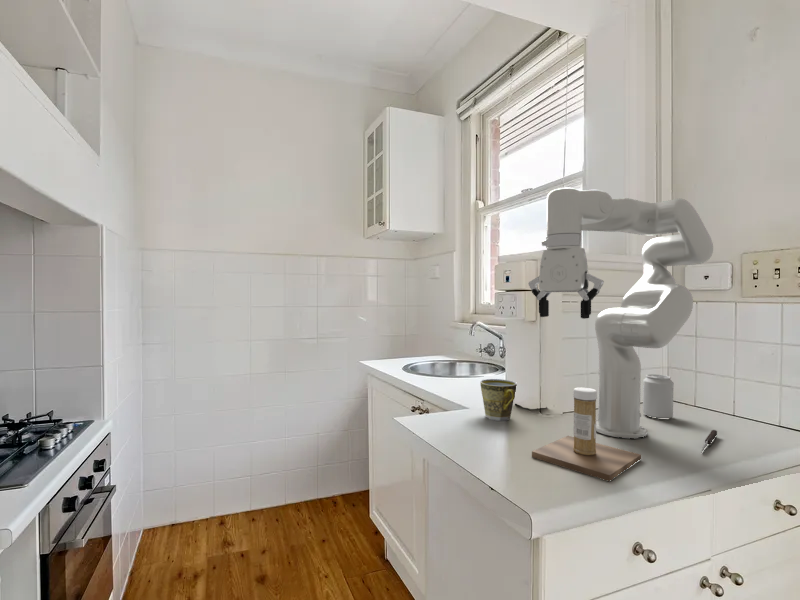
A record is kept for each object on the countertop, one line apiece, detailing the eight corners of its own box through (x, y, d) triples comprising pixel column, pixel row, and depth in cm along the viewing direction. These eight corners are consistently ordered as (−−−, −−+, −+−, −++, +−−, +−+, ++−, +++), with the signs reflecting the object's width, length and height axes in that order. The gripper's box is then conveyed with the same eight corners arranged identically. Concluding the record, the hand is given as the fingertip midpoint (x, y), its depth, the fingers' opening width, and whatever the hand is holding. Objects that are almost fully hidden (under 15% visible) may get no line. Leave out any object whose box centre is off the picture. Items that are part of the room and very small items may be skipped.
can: (679, 420, 119) (679, 378, 119) (652, 420, 119) (652, 377, 119) (662, 413, 127) (663, 373, 127) (637, 413, 127) (638, 372, 127)
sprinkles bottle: (600, 453, 90) (601, 389, 90) (587, 457, 87) (588, 392, 87) (580, 446, 94) (581, 385, 94) (568, 450, 91) (568, 388, 91)
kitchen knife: (712, 437, 106) (712, 429, 106) (717, 438, 105) (717, 430, 105) (698, 456, 93) (698, 447, 93) (703, 457, 92) (703, 448, 92)
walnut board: (567, 440, 101) (567, 435, 101) (641, 460, 89) (641, 454, 89) (531, 456, 91) (531, 451, 91) (609, 481, 79) (609, 475, 79)
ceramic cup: (473, 414, 124) (474, 379, 124) (504, 411, 127) (504, 378, 127) (497, 427, 111) (497, 389, 111) (529, 424, 114) (530, 387, 114)
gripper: (521, 245, 102) (521, 316, 102) (596, 238, 90) (596, 319, 90) (537, 247, 107) (537, 315, 107) (609, 241, 95) (609, 318, 95)
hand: (563, 317), depth 99 cm, fingers open, 9 cm apart
